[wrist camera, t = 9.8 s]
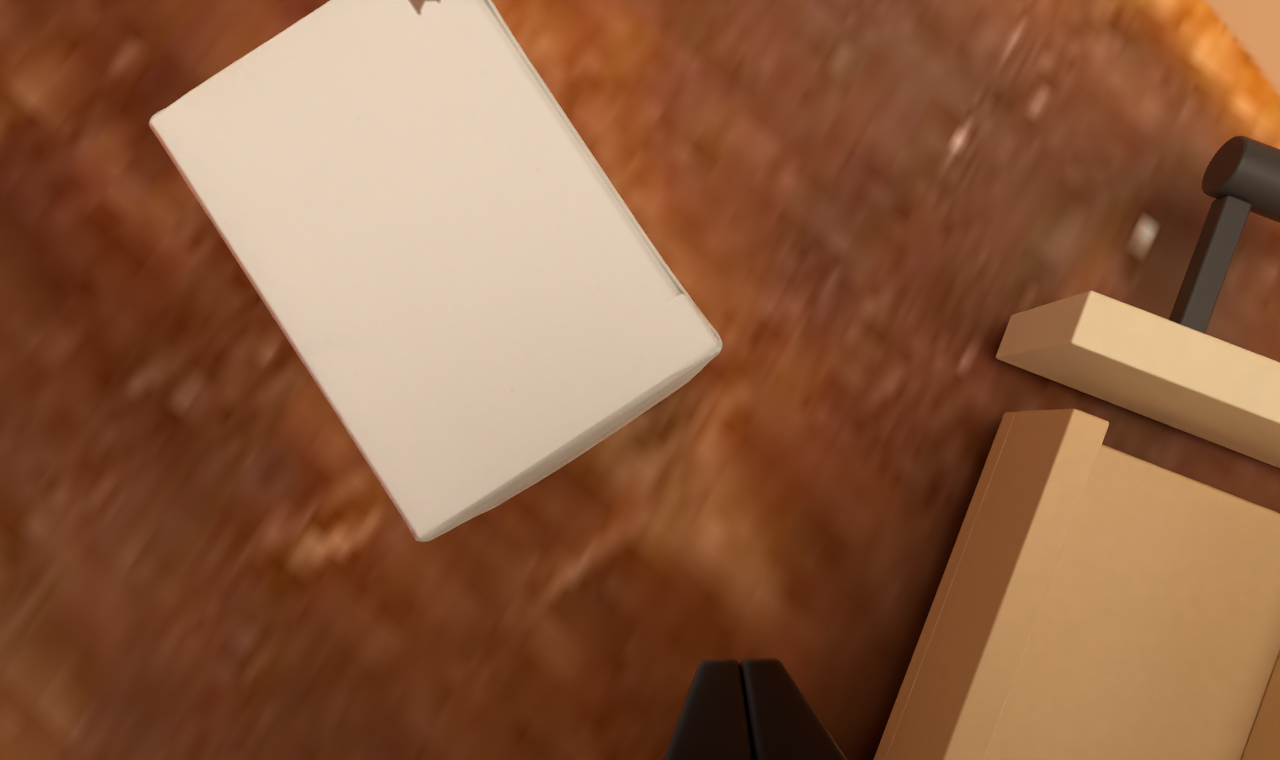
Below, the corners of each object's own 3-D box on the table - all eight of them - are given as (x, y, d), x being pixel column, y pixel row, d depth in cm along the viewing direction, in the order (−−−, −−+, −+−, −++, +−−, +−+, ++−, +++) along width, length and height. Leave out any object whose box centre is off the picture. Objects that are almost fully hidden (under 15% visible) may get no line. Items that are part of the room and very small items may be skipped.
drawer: (1077, 137, 23) (1172, 73, 19) (1442, 274, 23) (1620, 240, 19) (835, 777, 22) (877, 858, 18) (1207, 928, 22) (1337, 1046, 18)
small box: (358, 246, 24) (127, 107, 14) (533, 133, 24) (439, -93, 14) (519, 498, 24) (410, 557, 13) (697, 382, 24) (730, 347, 13)
